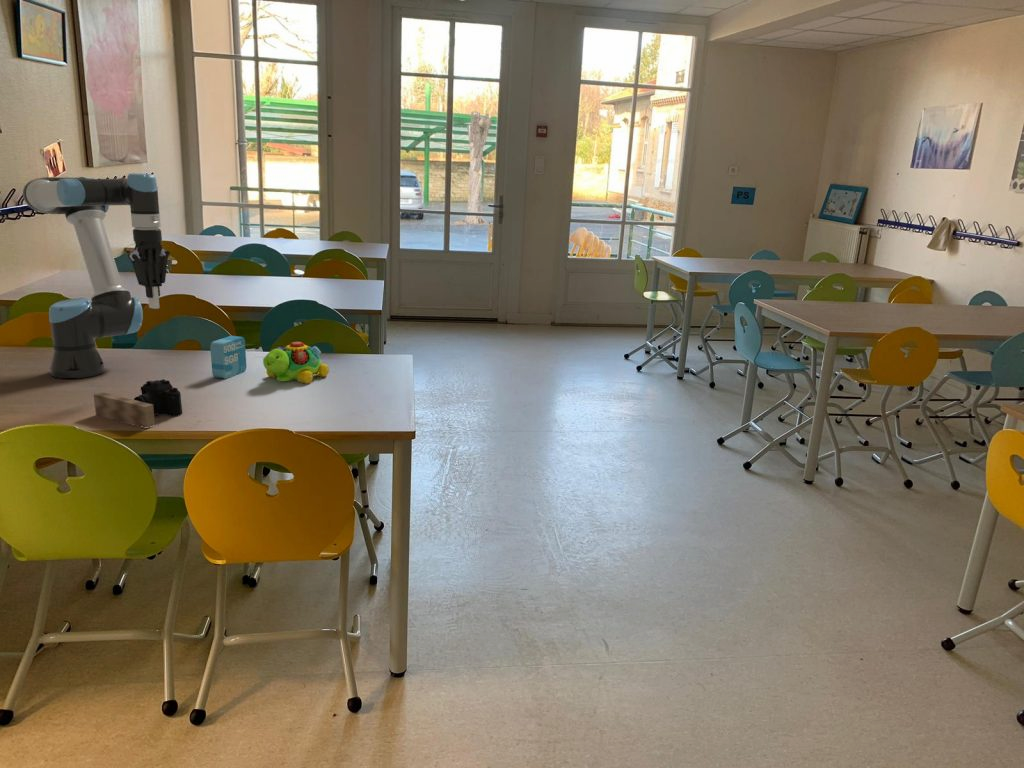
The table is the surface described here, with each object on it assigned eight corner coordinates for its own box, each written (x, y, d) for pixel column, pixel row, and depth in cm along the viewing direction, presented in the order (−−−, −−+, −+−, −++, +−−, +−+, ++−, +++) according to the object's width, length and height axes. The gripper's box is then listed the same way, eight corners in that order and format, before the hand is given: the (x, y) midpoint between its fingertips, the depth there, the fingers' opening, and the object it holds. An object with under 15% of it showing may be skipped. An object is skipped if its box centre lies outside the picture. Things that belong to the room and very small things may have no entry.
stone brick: (96, 415, 204) (93, 394, 202) (104, 412, 206) (101, 391, 204) (147, 428, 195) (145, 407, 194) (155, 426, 198) (153, 404, 196)
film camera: (122, 412, 207) (119, 381, 205) (155, 403, 215) (152, 373, 213) (155, 423, 200) (152, 391, 197) (187, 414, 207) (185, 383, 205)
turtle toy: (248, 384, 237) (245, 348, 233) (294, 367, 257) (292, 334, 254) (292, 392, 231) (290, 355, 227) (335, 374, 252) (334, 340, 248)
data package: (224, 380, 239) (221, 343, 236) (212, 378, 240) (209, 342, 237) (247, 370, 250) (244, 336, 247) (235, 369, 252) (233, 334, 248)
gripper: (136, 230, 210) (144, 312, 217) (174, 228, 222) (181, 306, 228) (118, 228, 213) (126, 309, 220) (156, 226, 225) (163, 303, 231)
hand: (154, 307), depth 224 cm, fingers closed
